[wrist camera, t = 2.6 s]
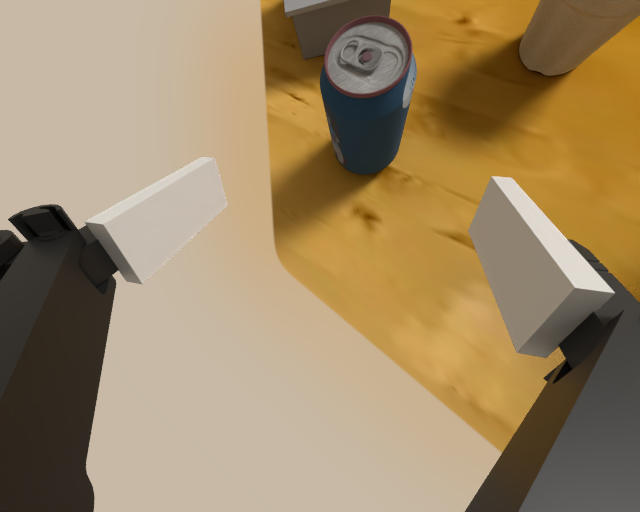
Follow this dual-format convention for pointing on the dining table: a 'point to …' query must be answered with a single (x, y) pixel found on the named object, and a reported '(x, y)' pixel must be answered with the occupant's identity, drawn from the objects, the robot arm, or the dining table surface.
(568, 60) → the flower pot
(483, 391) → the dining table surface
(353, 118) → the soda can
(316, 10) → the plate
